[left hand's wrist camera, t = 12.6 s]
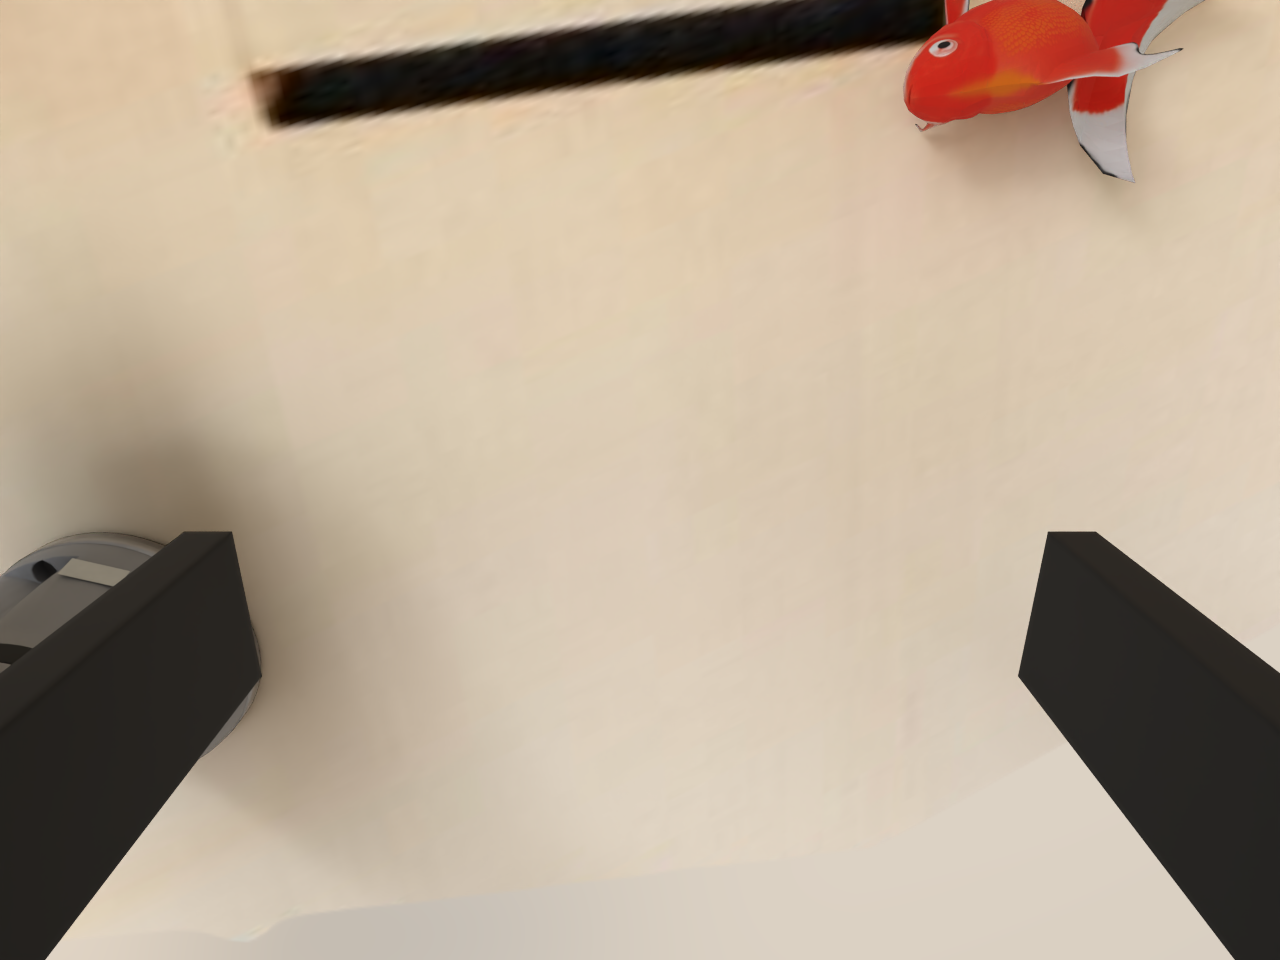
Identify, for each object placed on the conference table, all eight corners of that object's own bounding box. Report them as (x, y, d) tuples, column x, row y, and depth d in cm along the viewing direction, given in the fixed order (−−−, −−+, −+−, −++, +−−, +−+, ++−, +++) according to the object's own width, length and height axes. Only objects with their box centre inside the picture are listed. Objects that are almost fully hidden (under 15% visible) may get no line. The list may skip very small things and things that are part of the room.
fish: (896, -184, 28) (1122, -169, 22) (1169, -135, 35) (1412, -111, 28) (820, 125, 35) (975, 209, 29) (1059, 121, 41) (1233, 190, 35)
